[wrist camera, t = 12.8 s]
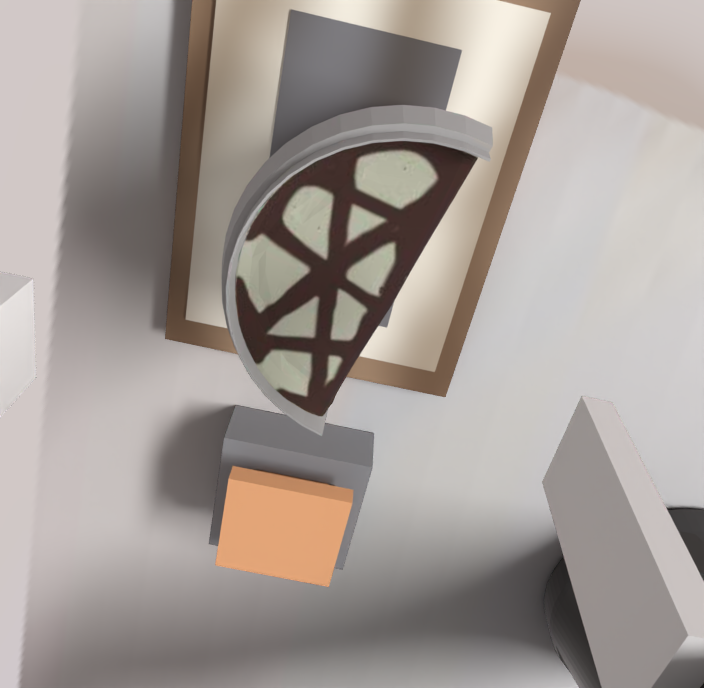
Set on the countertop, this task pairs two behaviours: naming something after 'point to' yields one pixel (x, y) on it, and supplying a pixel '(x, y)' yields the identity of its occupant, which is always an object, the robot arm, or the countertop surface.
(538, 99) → the drawing board
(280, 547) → the button
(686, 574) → the robot arm
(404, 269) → the food container
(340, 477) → the button housing
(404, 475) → the countertop surface
